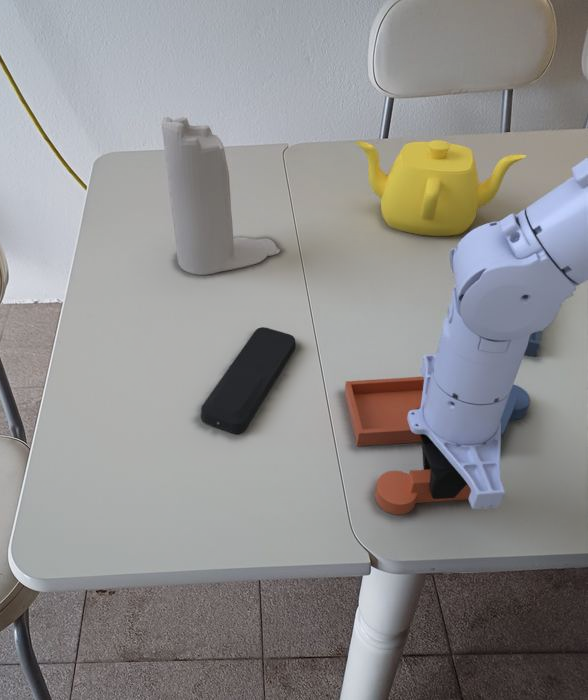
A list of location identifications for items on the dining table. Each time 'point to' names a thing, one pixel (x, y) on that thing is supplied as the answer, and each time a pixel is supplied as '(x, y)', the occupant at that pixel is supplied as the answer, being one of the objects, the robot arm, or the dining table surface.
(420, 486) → the terracotta spoon
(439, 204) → the teapot
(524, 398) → the slate spoon
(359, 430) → the terracotta tray
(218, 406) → the remote control
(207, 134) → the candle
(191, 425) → the dining table surface
